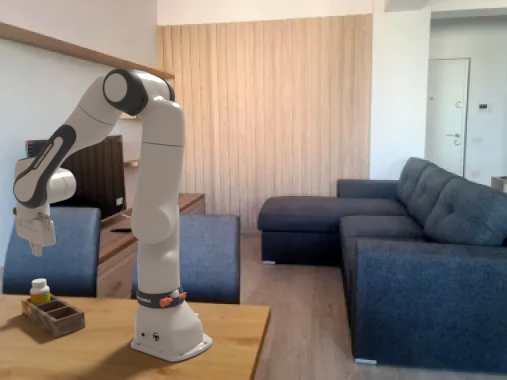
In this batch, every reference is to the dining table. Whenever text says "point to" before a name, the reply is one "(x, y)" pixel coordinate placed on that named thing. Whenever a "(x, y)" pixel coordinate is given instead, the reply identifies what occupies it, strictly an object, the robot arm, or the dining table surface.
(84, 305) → the dining table surface
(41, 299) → the supplement bottle
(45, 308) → the box
